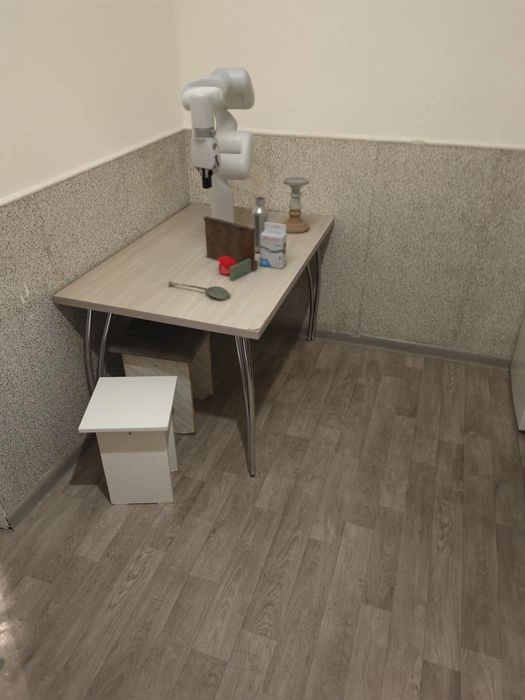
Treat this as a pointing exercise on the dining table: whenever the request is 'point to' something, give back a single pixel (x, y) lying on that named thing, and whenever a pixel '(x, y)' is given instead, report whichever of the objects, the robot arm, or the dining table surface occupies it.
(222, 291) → the soupspoon
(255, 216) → the silver metal bottle
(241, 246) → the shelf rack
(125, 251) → the dining table surface
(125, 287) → the dining table surface
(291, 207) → the candle holder
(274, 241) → the ink box
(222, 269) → the red rounded piece
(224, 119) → the robot arm
